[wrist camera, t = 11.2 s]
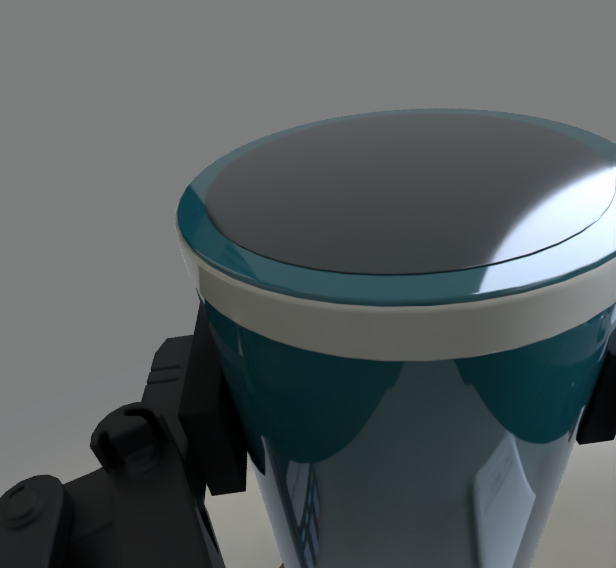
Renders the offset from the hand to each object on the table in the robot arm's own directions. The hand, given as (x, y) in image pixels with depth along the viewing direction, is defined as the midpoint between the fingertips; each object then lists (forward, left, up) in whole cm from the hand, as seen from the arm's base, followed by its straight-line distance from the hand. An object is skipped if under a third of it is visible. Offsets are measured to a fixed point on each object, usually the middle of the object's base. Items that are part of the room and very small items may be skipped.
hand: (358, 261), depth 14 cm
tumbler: (+2, +4, -6) cm, 8 cm away
